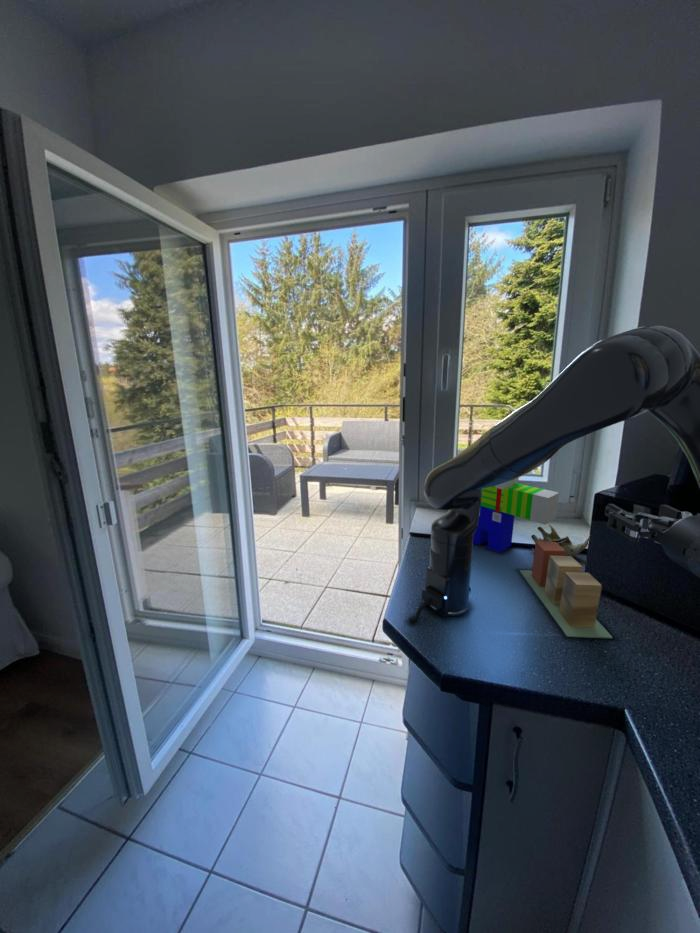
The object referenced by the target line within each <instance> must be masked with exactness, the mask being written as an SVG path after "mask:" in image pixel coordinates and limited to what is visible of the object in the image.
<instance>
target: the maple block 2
mask: <svg viewBox="0 0 700 933" xmlns="http://www.w3.org/2000/svg"><path fill="white" fill-rule="evenodd" d="M602 588H603V585H602V583H600V582H599V581H598V580H597V579H596V578H595V577H594V576H593V575H592V574H590V572H581V573H579V572H565V576H564V582H563V589H562V596H561V602H560V609H559V612H560V614H561V615H562V616H563V618H564V619H565V620H566V622H567V623H568V624H569V626H572V627H595V622H596V619H597V615H598V610H599V604H600V600H601V593H602Z"/></svg>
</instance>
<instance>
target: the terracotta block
mask: <svg viewBox="0 0 700 933" xmlns="http://www.w3.org/2000/svg"><path fill="white" fill-rule="evenodd" d="M534 549H535V551H534V553H533V561H532V568H531V570H532V577H533V579H534V580H535V581H536V583H537V584H538V585H539V587H545V585H546V578H547V570H548V563H549V556H565V550H564V549H563V548H562V547H561V546H560V545H559V544H557V543H556V542H536V544H535V543H534Z"/></svg>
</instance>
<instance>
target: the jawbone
mask: <svg viewBox="0 0 700 933" xmlns="http://www.w3.org/2000/svg"><path fill="white" fill-rule="evenodd" d="M548 527H549V528H550V531H551V532H550V533H549V532H547V531H546V530H545V529H544V528H543V527H542V526H537V530H538V532H540V534H541V536H542V538H541V537H537V535H536V534H531V535H530V536H531V539H532V541H533V542H534V545H535V544H536V542H556V543H557V544H559V545H560V546H561V547H562V548H563V549H564V550H565V556H572V557H573V556H576V555H578V554H580V553H581V552H583V551H584V550H585V549H586V548H587V547H588V545H589V544H588V541H589V536H588V537H587V538H586V540H585V541H583V543H579V544H576V545H575V544H573V542H572V541H571V540H570V537H569V536H564V537H561V536H560V535H559V534H558V532H557V531H556V529H555V528H554V527H553V526H552V525H551V524H548ZM530 549H531V550H532V551H534V552H535V548H533V547H531V548H530Z"/></svg>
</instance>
